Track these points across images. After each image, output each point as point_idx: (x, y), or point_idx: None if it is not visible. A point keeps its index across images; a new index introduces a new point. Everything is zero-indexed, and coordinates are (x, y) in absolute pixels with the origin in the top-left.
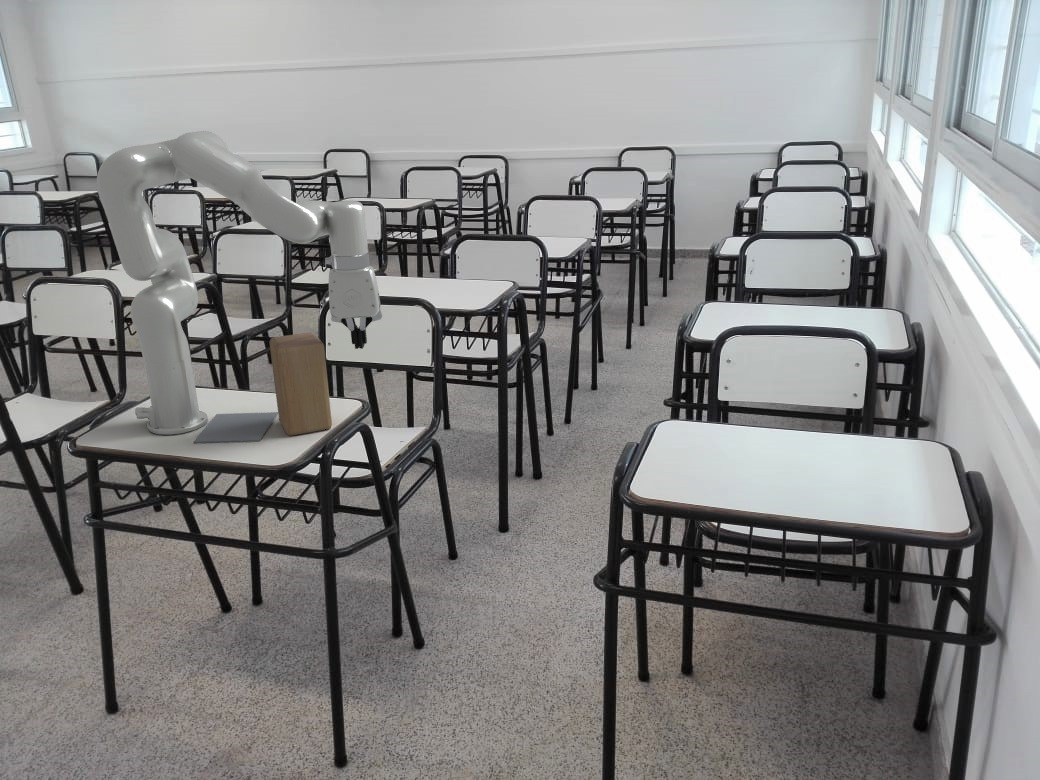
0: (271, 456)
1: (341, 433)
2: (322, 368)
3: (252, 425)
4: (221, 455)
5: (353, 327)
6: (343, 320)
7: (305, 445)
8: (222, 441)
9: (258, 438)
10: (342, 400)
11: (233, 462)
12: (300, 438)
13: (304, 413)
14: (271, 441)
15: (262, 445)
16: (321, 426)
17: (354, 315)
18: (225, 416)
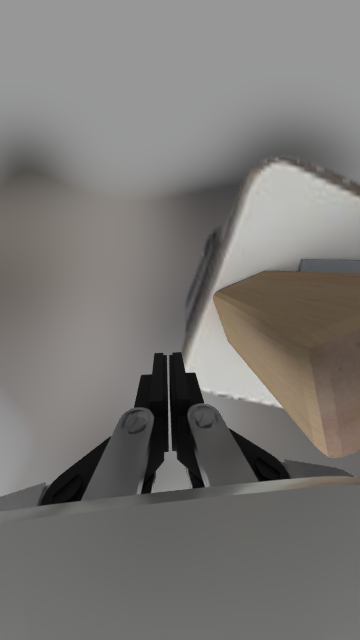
0: (284, 200)
1: (197, 278)
2: (262, 312)
3: None
4: (349, 212)
5: (191, 421)
6: (272, 473)
7: (241, 238)
8: (348, 260)
9: (305, 263)
10: (209, 386)
11: (334, 182)
12: (250, 265)
13: (258, 280)
14: (286, 258)
15: (297, 244)
16: (226, 287)
17: (174, 524)
18: None
